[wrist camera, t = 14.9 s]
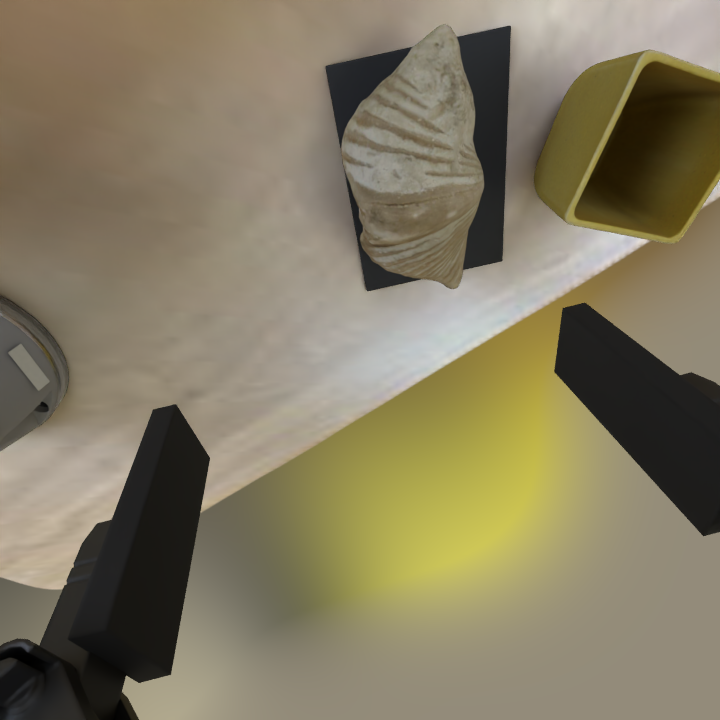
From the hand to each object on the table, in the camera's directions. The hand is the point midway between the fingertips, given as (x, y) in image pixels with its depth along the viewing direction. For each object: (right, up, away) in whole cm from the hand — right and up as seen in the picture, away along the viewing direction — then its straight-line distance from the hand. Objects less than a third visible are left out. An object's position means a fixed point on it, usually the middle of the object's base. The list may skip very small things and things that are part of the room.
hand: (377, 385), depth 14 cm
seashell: (+3, +14, +17) cm, 22 cm away
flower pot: (+16, +18, +17) cm, 29 cm away
